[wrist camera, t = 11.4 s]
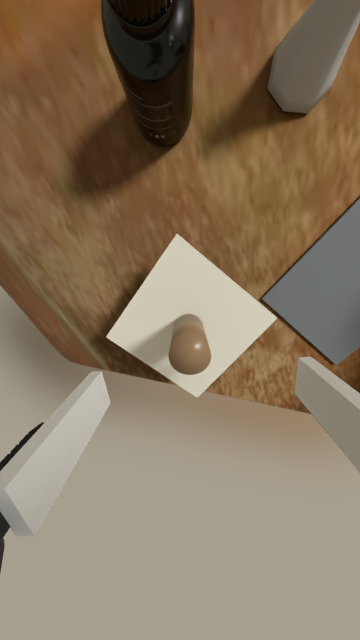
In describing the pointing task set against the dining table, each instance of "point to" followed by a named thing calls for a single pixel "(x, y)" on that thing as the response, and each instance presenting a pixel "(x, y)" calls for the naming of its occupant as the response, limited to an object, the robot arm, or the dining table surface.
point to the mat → (325, 290)
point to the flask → (312, 54)
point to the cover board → (195, 297)
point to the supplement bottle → (154, 62)
